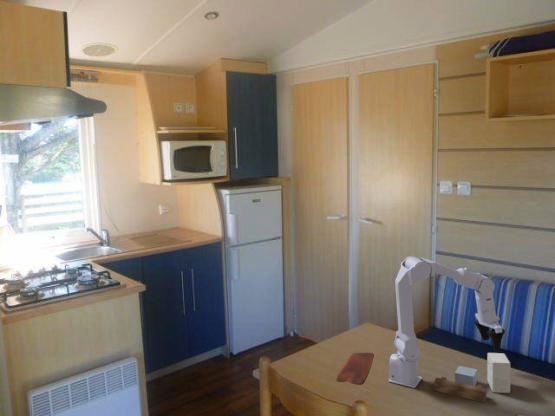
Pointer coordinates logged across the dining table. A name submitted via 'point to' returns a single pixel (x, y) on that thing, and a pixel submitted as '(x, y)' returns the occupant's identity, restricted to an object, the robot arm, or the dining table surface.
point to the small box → (498, 372)
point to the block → (466, 375)
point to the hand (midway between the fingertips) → (491, 343)
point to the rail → (460, 389)
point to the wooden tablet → (356, 368)
